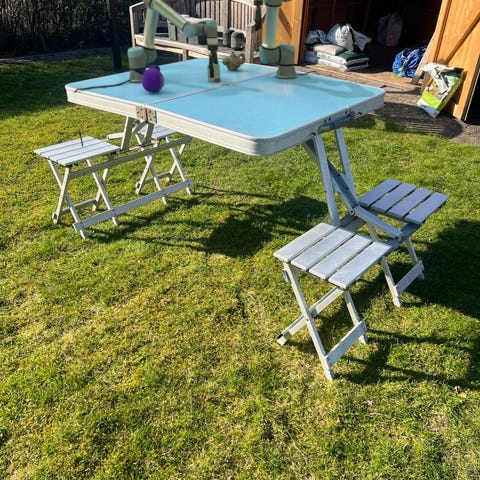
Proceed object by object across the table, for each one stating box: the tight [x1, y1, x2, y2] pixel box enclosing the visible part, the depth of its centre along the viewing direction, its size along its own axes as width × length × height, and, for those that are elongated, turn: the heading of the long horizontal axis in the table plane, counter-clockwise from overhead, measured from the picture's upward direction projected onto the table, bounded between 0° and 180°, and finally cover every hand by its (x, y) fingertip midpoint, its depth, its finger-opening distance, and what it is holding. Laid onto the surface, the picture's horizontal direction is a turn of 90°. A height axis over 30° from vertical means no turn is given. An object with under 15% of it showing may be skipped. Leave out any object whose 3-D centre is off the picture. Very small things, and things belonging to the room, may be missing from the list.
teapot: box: [221, 50, 246, 72], centre depth 367 cm, size 21×12×15 cm, turn 120°
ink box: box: [206, 64, 221, 83], centre depth 330 cm, size 9×5×12 cm, turn 78°
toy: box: [134, 64, 165, 94], centre depth 304 cm, size 16×18×27 cm
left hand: (214, 76), depth 332 cm, fingers open, 12 cm apart
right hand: (258, 30), depth 357 cm, fingers open, 13 cm apart
